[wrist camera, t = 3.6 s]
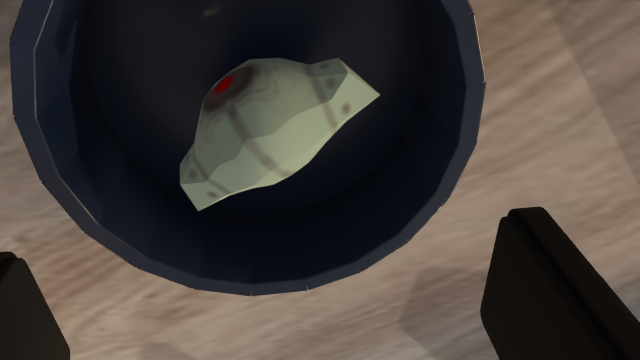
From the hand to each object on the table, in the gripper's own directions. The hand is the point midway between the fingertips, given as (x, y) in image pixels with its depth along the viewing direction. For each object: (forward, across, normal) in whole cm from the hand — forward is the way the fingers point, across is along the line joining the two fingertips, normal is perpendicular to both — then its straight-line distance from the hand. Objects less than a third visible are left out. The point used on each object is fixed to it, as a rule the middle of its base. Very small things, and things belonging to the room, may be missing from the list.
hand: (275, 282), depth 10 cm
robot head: (+13, 0, 0) cm, 13 cm away
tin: (+13, 0, 0) cm, 13 cm away
